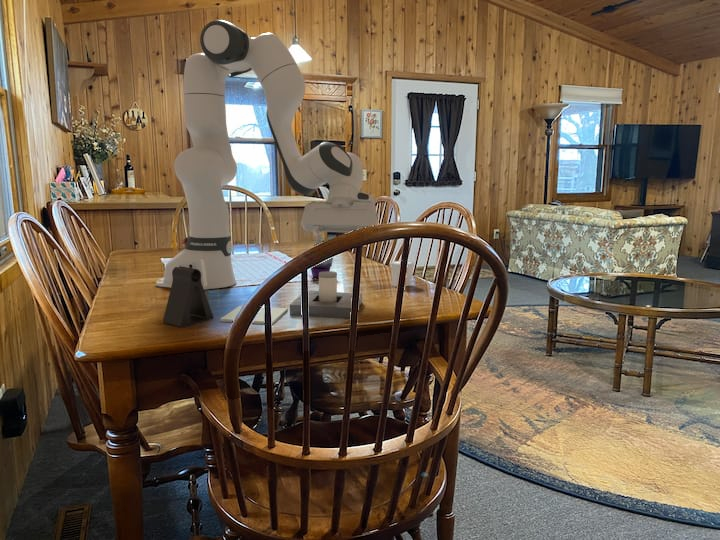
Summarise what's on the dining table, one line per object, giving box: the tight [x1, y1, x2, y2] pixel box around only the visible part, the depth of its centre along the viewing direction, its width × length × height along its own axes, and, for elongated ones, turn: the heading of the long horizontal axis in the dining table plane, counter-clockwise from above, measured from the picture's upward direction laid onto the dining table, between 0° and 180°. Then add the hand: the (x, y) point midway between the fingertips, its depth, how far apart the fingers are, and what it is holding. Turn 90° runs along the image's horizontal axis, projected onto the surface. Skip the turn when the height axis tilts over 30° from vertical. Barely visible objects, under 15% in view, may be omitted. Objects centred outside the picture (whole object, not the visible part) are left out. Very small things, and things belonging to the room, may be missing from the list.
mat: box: [219, 305, 289, 326], centre depth 122 cm, size 12×12×1 cm
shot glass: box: [390, 260, 415, 288], centre depth 158 cm, size 7×7×7 cm
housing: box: [289, 290, 363, 319], centre depth 130 cm, size 15×15×2 cm
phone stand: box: [162, 266, 214, 329], centre depth 116 cm, size 9×6×12 cm, turn 147°
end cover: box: [318, 270, 338, 303], centre depth 129 cm, size 4×4×9 cm
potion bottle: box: [310, 239, 334, 280], centre depth 166 cm, size 9×9×12 cm
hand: (336, 242), depth 136 cm, fingers open, 8 cm apart
